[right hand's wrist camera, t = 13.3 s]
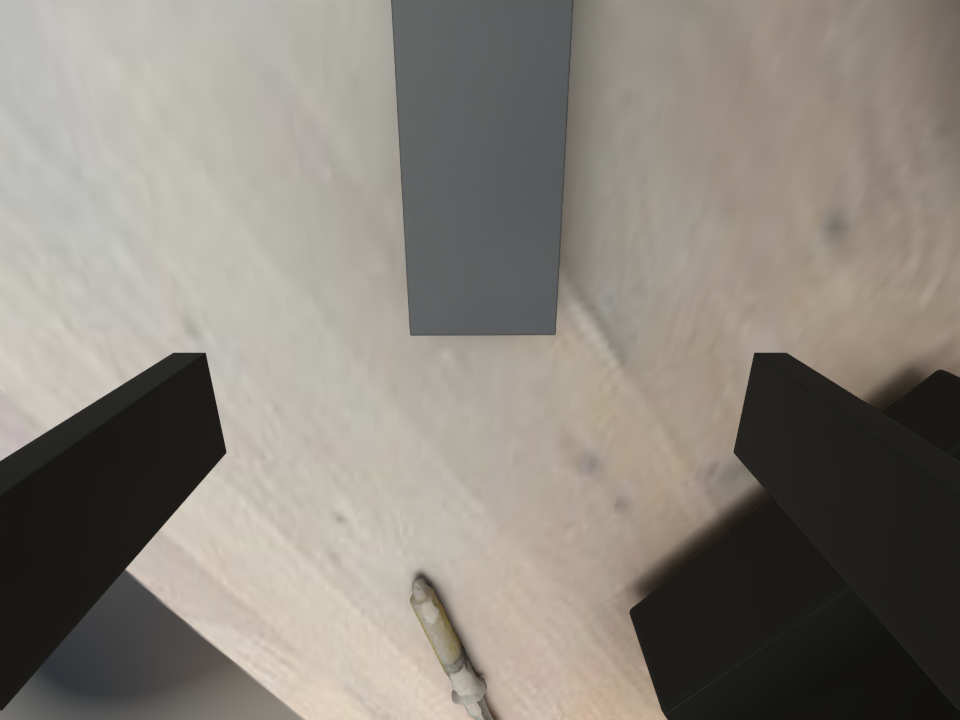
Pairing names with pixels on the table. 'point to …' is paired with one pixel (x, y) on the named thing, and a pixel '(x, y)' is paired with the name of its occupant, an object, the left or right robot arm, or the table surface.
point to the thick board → (482, 161)
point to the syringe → (449, 651)
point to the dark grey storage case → (788, 618)
